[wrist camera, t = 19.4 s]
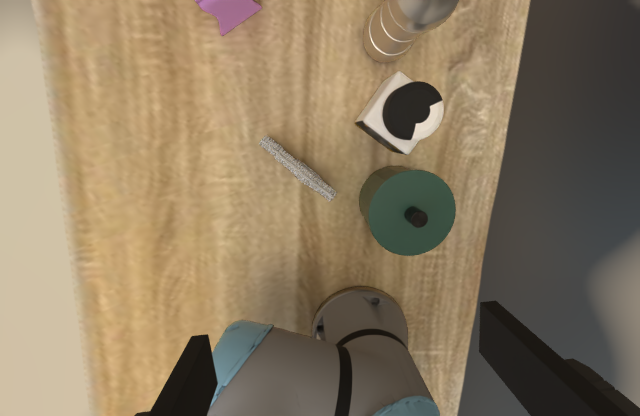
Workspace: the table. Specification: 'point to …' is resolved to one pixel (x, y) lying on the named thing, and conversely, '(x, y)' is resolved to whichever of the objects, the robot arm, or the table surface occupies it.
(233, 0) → the toy chair
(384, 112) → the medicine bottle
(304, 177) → the lattice window wall
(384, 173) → the pot
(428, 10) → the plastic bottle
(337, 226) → the table surface
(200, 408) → the robot arm
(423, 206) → the pot lid
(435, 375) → the table surface
